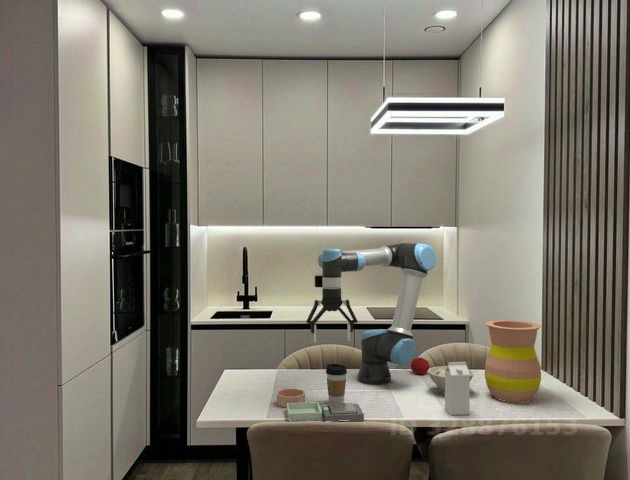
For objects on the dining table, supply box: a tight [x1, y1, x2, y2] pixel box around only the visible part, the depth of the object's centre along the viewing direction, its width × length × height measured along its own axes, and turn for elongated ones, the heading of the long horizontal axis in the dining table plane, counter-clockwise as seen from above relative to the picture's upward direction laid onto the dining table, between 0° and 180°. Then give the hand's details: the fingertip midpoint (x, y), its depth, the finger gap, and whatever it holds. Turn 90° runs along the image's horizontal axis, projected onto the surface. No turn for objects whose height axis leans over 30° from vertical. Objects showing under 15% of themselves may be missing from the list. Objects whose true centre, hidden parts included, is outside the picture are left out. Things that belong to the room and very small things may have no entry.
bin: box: [276, 388, 306, 409], centre depth 221 cm, size 11×11×4 cm
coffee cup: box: [325, 363, 348, 404], centre depth 221 cm, size 8×8×15 cm
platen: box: [328, 402, 356, 415], centre depth 206 cm, size 9×9×1 cm
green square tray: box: [286, 401, 323, 421], centre depth 208 cm, size 12×12×3 cm
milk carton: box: [444, 361, 471, 416], centre depth 211 cm, size 7×7×19 cm
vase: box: [484, 319, 542, 403], centre depth 229 cm, size 22×22×30 cm
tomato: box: [410, 357, 430, 375], centre depth 266 cm, size 9×9×8 cm
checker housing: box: [321, 403, 365, 422], centre depth 206 cm, size 14×12×3 cm
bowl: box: [427, 365, 474, 395], centre depth 235 cm, size 19×19×10 cm
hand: (331, 341), depth 222 cm, fingers open, 13 cm apart
